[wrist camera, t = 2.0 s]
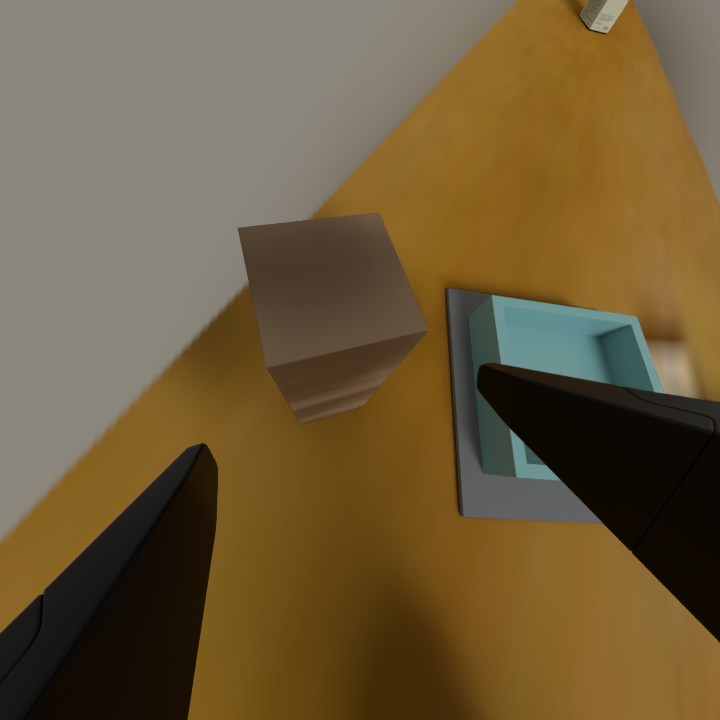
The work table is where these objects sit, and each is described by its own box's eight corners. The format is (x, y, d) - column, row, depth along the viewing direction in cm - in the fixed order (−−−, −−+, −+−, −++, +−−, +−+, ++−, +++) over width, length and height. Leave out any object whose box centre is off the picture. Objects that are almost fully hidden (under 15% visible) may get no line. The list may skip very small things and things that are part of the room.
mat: (664, 524, 19) (671, 526, 19) (460, 515, 17) (463, 516, 17) (600, 313, 26) (604, 311, 25) (446, 290, 24) (448, 288, 23)
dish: (639, 484, 20) (698, 489, 16) (483, 473, 18) (516, 477, 15) (596, 334, 24) (636, 316, 21) (468, 316, 23) (491, 294, 20)
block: (362, 406, 19) (428, 329, 7) (301, 424, 18) (266, 367, 6) (345, 351, 20) (379, 212, 9) (287, 364, 19) (237, 227, 8)
